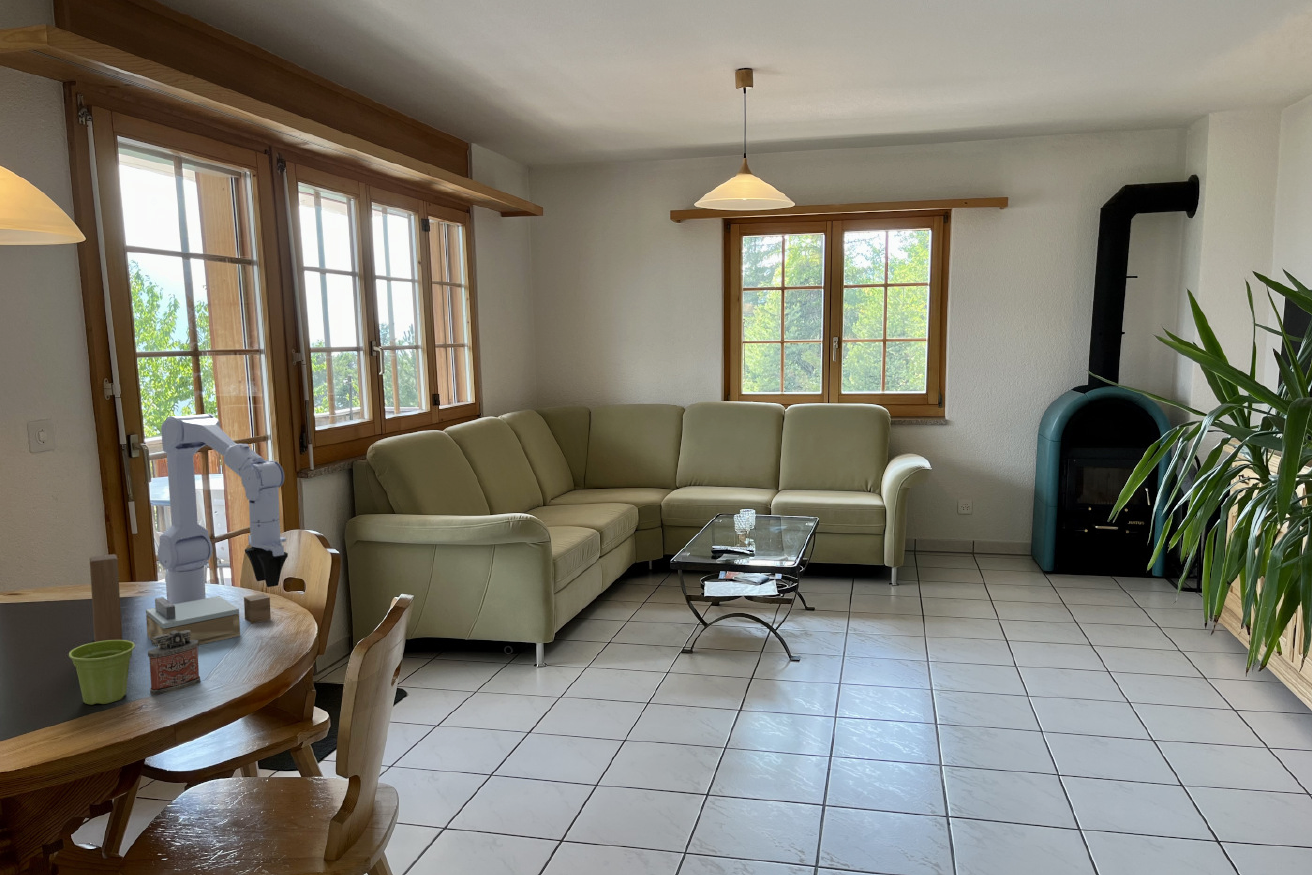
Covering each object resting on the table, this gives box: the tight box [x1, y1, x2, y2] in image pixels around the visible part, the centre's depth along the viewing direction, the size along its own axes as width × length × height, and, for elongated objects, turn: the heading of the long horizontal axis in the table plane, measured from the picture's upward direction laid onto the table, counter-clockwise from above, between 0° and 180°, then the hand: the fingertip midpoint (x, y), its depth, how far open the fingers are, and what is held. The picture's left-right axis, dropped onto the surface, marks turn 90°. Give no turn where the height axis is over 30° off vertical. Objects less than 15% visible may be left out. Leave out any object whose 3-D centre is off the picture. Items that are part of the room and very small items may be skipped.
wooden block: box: [89, 553, 123, 642], centre depth 173 cm, size 9×4×18 cm, turn 34°
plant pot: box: [68, 639, 136, 706], centre depth 147 cm, size 9×9×9 cm
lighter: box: [147, 630, 201, 696], centre depth 152 cm, size 8×3×10 cm, turn 141°
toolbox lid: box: [145, 595, 240, 629], centre depth 177 cm, size 12×14×4 cm
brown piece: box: [145, 613, 241, 647], centre depth 178 cm, size 12×14×4 cm
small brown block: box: [243, 593, 272, 625], centre depth 189 cm, size 4×4×5 cm
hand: (267, 583), depth 184 cm, fingers open, 5 cm apart
